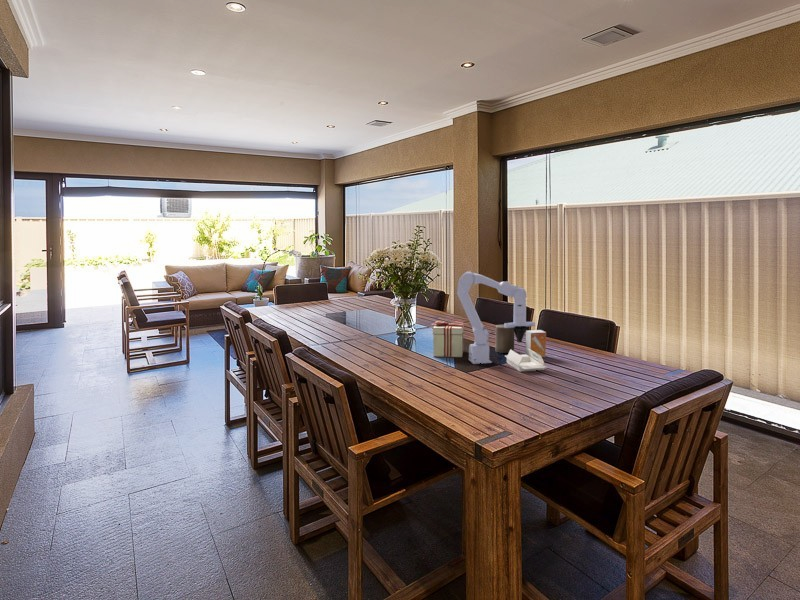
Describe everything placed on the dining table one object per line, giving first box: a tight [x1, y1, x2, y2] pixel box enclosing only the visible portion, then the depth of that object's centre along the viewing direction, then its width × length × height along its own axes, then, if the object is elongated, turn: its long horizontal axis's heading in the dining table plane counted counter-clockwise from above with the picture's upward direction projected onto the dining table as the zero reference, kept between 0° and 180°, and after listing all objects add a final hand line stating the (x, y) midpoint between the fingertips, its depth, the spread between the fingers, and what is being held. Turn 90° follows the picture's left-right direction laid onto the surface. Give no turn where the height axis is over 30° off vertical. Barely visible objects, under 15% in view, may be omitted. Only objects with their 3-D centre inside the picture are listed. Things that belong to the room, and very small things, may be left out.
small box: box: [524, 329, 547, 358], centre depth 235 cm, size 8×6×13 cm
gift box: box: [430, 320, 465, 358], centre depth 244 cm, size 17×18×17 cm
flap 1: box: [506, 349, 523, 366], centre depth 218 cm, size 4×14×1 cm
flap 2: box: [528, 349, 545, 365], centre depth 220 cm, size 4×14×1 cm
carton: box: [504, 353, 549, 373], centre depth 219 cm, size 12×23×2 cm, turn 9°
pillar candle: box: [494, 324, 515, 354], centre depth 246 cm, size 10×10×15 cm
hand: (519, 342), depth 222 cm, fingers closed
